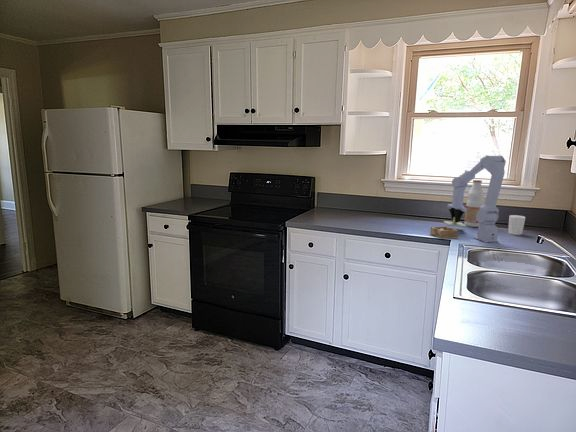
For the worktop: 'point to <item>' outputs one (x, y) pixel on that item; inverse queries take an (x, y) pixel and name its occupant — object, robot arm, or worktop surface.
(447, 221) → the lid
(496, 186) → the robot arm
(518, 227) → the white cup
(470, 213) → the fruit juice
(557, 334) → the worktop surface
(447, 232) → the box
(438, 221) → the worktop surface
